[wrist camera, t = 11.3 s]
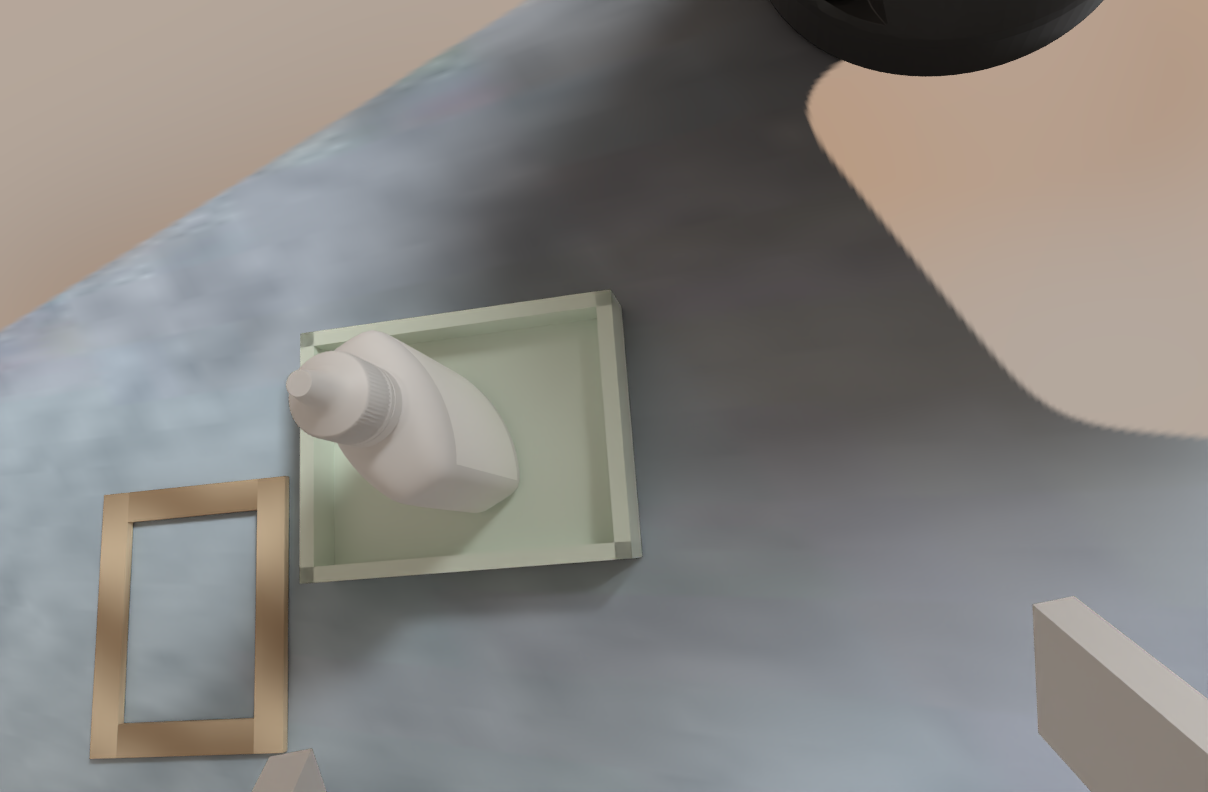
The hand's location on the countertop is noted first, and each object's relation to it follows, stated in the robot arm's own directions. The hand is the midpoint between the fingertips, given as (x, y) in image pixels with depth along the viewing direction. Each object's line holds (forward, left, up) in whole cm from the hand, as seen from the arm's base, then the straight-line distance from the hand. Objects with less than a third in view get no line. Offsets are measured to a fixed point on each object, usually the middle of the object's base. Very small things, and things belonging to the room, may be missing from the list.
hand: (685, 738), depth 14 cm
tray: (-8, -9, -15) cm, 19 cm away
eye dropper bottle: (-8, -9, -14) cm, 19 cm away
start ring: (-2, -22, -15) cm, 27 cm away
